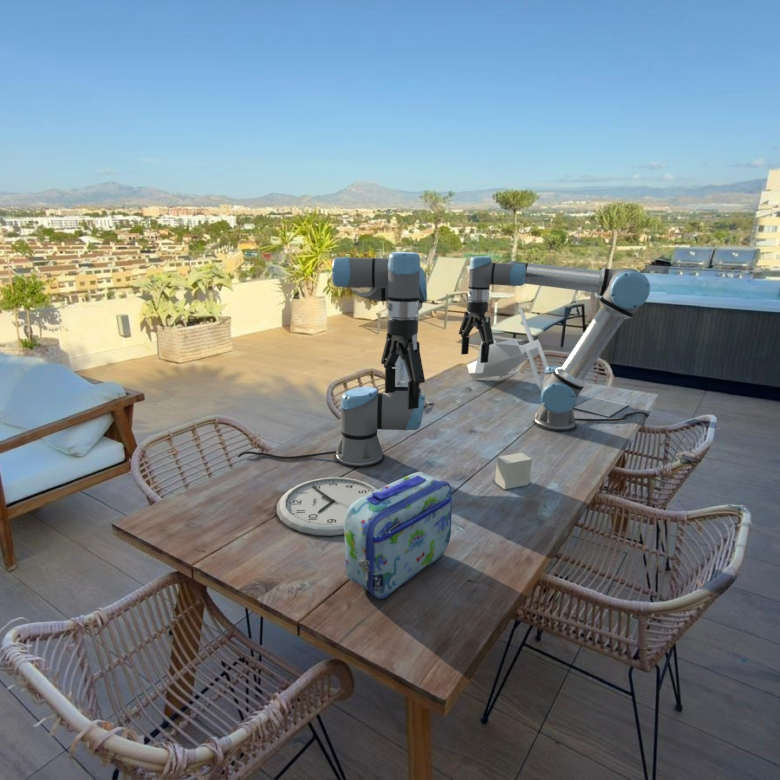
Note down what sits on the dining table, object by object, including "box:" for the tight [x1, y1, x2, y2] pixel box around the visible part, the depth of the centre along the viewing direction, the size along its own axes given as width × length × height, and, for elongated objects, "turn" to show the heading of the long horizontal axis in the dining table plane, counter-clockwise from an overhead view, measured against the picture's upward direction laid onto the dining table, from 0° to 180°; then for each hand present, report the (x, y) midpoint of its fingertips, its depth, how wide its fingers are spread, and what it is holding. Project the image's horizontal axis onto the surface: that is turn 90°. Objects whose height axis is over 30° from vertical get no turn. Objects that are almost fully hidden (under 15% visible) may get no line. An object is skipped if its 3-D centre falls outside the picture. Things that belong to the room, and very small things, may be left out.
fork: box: [424, 396, 435, 409], centre depth 223 cm, size 3×16×2 cm, turn 160°
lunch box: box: [343, 471, 453, 599], centre depth 113 cm, size 26×11×21 cm, turn 134°
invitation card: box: [573, 396, 629, 418], centre depth 226 cm, size 21×1×15 cm
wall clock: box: [276, 476, 379, 537], centre depth 142 cm, size 30×2×30 cm
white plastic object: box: [467, 307, 550, 392], centre depth 256 cm, size 37×45×31 cm
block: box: [494, 452, 533, 490], centre depth 156 cm, size 5×9×8 cm, turn 113°
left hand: (400, 400), depth 134 cm, fingers open, 13 cm apart
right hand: (474, 358), depth 194 cm, fingers open, 13 cm apart
